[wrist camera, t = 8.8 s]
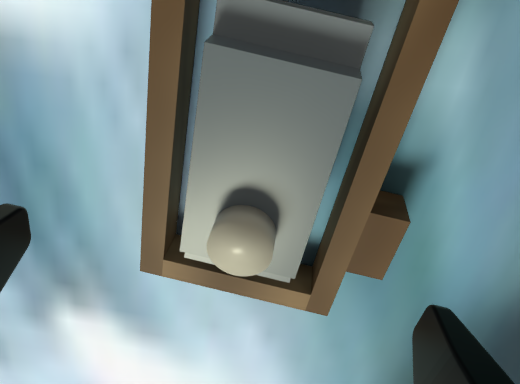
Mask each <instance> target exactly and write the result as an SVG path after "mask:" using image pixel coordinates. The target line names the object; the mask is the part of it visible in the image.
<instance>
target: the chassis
mask: <svg viewBox="0 0 520 384" xmlns="http://www.w3.org/2000/svg"><path fill="white" fill-rule="evenodd" d="M458 1H459V0H406V2H405V5H404V8H403V11H402V14H401V17H400V19H399V22H398V25H397V28H396V31H395V34H394V36H393V39H392V42H391V45H390V48H389V51H388V53H387V56H386V59H385V62H384V65H383V68H382V70H381V73H380V76H379V79H378V82H377V85H376V87H375V90H374V93H373V96H372V99H371V102H370V104H369V107H368V110H367V113H366V116H365V119H364V121H363V124H362V127H361V130H360V133H359V136H358V138H357V141H356V144H355V147H354V150H353V153H352V155H351V158H350V161H349V164H348V167H347V170H346V172H345V175H344V178H343V181H342V184H341V187H340V189H339V192H338V195H337V198H336V201H335V204H334V206H333V209H332V212H331V215H330V218H329V221H328V223H327V226H326V229H325V232H324V235H323V238H322V240H321V243H320V246H319V249H318V252H317V255H316V257H315V260H314V263H313V266H307V265H303V264H300V265H299V268H298V271H297V274H296V277H295V279H292V278H291V279H290V283H287V282H283V281H279V280H275V279H271V278H267V277H263V276H258V275H253V276H235V275H231V274H229V273H226V272H224V271H222V270H221V269H219V268H218V267H217V266H216V265H213V264H209V263H205V262H201V261H197V260H193V259H188V258H184V255H185V252H181V251H180V244H181V236H182V235H178V234H176V230H177V220H178V210H179V200H180V190H181V181H182V171H183V161H184V151H185V141H186V131H187V122H188V112H189V102H190V92H191V82H192V72H193V63H194V53H195V43H196V33H197V23H198V13H199V4H200V0H152V4H151V28H150V51H149V74H148V97H147V121H146V144H145V167H144V190H143V213H142V237H141V260H140V271H143V272H147V273H151V274H155V275H159V276H163V277H167V278H172V279H176V280H180V281H184V282H188V283H192V284H196V285H201V286H205V287H209V288H213V289H217V290H221V291H226V292H230V293H234V294H238V295H242V296H246V297H250V298H255V299H259V300H263V301H267V302H271V303H275V304H279V305H284V306H288V307H292V308H296V309H300V310H304V311H309V312H313V313H317V314H321V315H325V316H327V315H328V313H329V311H330V308H331V306H332V303H333V301H334V299H335V296H336V294H337V291H338V289H339V287H340V284H341V282H342V279H343V277H344V275H345V272H350V273H355V274H359V275H363V276H367V277H371V278H376V279H380V280H382V279H383V277H384V275H385V273H386V271H387V269H388V267H389V265H390V263H391V261H392V259H393V257H394V255H395V253H396V251H397V249H398V247H399V245H400V243H401V241H402V239H403V237H404V234H405V232H406V230H407V228H408V226H409V224H410V219H409V215H408V212H407V208H406V204H405V201H404V197H403V196H402V195H397V194H393V193H389V192H385V191H381V190H380V188H381V186H382V184H383V181H384V179H385V176H386V174H387V172H388V169H389V167H390V164H391V162H392V160H393V157H394V155H395V152H396V150H397V148H398V145H399V143H400V140H401V138H402V136H403V133H404V131H405V128H406V126H407V124H408V121H409V119H410V116H411V114H412V112H413V109H414V107H415V105H416V102H417V100H418V97H419V95H420V93H421V90H422V88H423V85H424V83H425V81H426V78H427V76H428V73H429V71H430V69H431V66H432V64H433V61H434V59H435V57H436V54H437V52H438V49H439V47H440V45H441V42H442V40H443V37H444V35H445V33H446V30H447V28H448V25H449V23H450V21H451V18H452V16H453V13H454V11H455V9H456V6H457V4H458Z"/></svg>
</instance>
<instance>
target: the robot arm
mask: <svg viewBox="0 0 520 384" xmlns="http://www.w3.org/2000/svg"><path fill="white" fill-rule="evenodd" d="M30 240H31V232H30V225H29V219H28V213H27V210H26V209H25V208H24V207H21V206H17V205H13V204H2V205H0V292H1V291H2V289H3V287H4V286H5V284H6V282H7V281H8V279H9V277H10V276H11V274H12V273H13V271H14V269H15V268H16V266H17V264H18V263H19V261H20V259H21V258H22V256H23V254H24V253H25V251H26V250H27V248H28V246H29V244H30ZM412 344H413V382H414V384H514V382H513V381H512V380H511V379H510V378H509V377H508V375H507V374H506V373H505V372H504V371H503V370H502V369H501V367H500V366H499V365H498V364H497V363H496V362H495V360H494V359H493V358H492V357H491V356H490V355H489V353H488V352H487V351H486V350H485V349H484V348H483V347H482V345H481V344H480V343H479V342H478V341H477V340H476V338H475V337H474V336H473V335H472V334H471V333H470V331H469V330H468V329H467V328H466V327H465V326H464V324H463V323H462V322H461V321H460V320H459V319H458V318H457V316H456V315H455V314H454V313H453V312H452V311H451V310H450V309H448V308H445V307H441V306H437V305H429V306H428V307H427V308H426V310H425V311H424V313H423V315H422V316H421V318H420V320H419V321H418V323H417V325H416V326H415V328H414V331H413V337H412Z"/></svg>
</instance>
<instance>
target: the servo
mask: <svg viewBox="0 0 520 384" xmlns="http://www.w3.org/2000/svg"><path fill="white" fill-rule="evenodd" d="M373 28H374V25H373V23H372V22H371V21H367V20H363V19H359V18H354V17H350V16H346V15H342V14H337V13H333V12H329V11H325V10H321V9H316V8H312V7H308V6H304V5H299V4H295V3H291V2H287V1H283V0H217V6H216V14H215V22H214V29H213V34H212V35H211V36H210V37H209V38H208V39H207V40H206V41H205V43H204V51H203V59H202V68H201V76H200V85H199V93H198V101H197V110H196V118H195V127H194V135H193V143H192V152H191V160H190V169H189V177H188V185H187V194H186V202H185V211H184V219H183V227H182V236H181V244H180V251H181V252H185V255H184V258H188V259H193V260H197V261H201V262H205V263H209V264H213V265H216V266H217V267H218V268H219V269H221V270H222V271H224V272H226V273H229V274H231V275H235V276H253V275H258V276H263V277H267V278H271V279H275V280H279V281H283V282H287V283H290V279H291V278H292V279H295V277H296V274H297V271H298V268H299V265H300V262H301V259H302V256H303V253H304V250H305V247H306V245H307V242H308V239H309V236H310V233H311V230H312V227H313V224H314V221H315V218H316V215H317V212H318V209H319V206H320V203H321V200H322V197H323V194H324V191H325V188H326V185H327V182H328V179H329V176H330V173H331V170H332V167H333V164H334V162H335V159H336V156H337V153H338V150H339V147H340V144H341V141H342V138H343V135H344V132H345V129H346V126H347V123H348V120H349V117H350V114H351V111H352V108H353V105H354V102H355V99H356V96H357V93H358V90H359V87H360V84H361V81H362V76H361V72H360V67H361V64H362V61H363V58H364V55H365V52H366V49H367V46H368V43H369V40H370V37H371V34H372V31H373Z"/></svg>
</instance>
